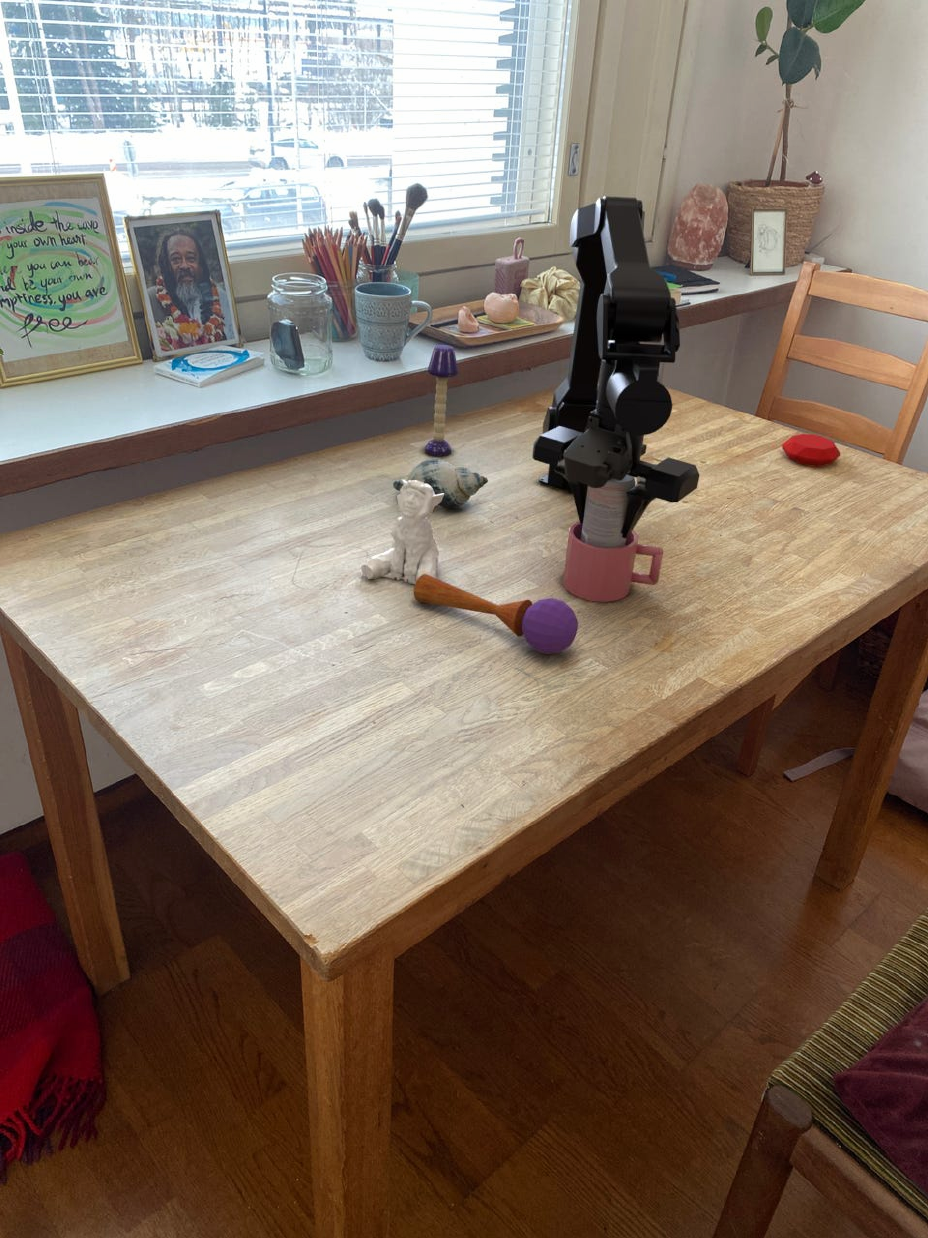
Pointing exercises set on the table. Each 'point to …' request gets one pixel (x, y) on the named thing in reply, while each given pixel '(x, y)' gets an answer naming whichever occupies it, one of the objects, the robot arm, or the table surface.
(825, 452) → the gemstone
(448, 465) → the seashell
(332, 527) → the table surface
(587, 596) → the mug
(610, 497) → the energy drink
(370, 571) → the seated beast figurine
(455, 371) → the toy lamp
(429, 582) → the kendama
